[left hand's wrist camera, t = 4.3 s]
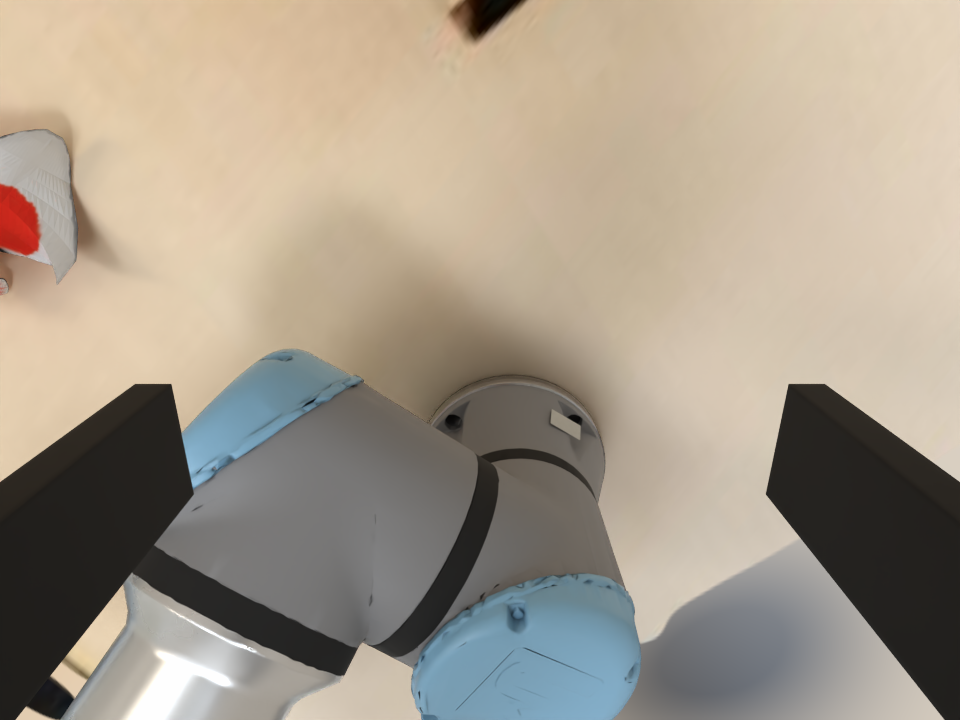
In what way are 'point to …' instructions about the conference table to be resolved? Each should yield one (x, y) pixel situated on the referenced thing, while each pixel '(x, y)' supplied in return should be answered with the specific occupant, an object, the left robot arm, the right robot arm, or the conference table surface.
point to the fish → (37, 200)
